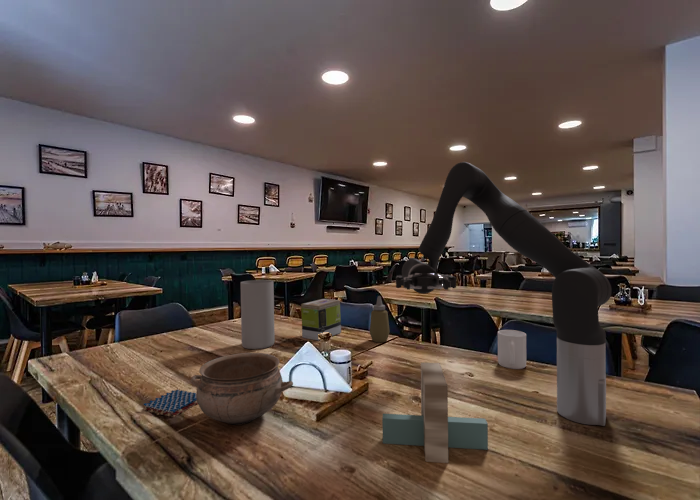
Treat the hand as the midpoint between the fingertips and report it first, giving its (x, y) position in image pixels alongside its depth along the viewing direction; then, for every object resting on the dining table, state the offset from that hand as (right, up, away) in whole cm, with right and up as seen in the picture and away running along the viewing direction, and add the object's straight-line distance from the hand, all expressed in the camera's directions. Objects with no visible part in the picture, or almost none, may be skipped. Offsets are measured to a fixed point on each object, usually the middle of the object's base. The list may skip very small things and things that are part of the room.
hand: (427, 285), depth 80 cm
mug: (+33, -29, +31) cm, 54 cm away
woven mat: (-61, -31, +8) cm, 69 cm away
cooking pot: (-43, -31, +1) cm, 53 cm away
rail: (-1, -30, -10) cm, 32 cm away
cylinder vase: (-54, -30, +59) cm, 85 cm away
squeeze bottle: (-6, -29, +62) cm, 69 cm away
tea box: (-30, -29, +72) cm, 83 cm away
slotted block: (-1, -30, -10) cm, 32 cm away
